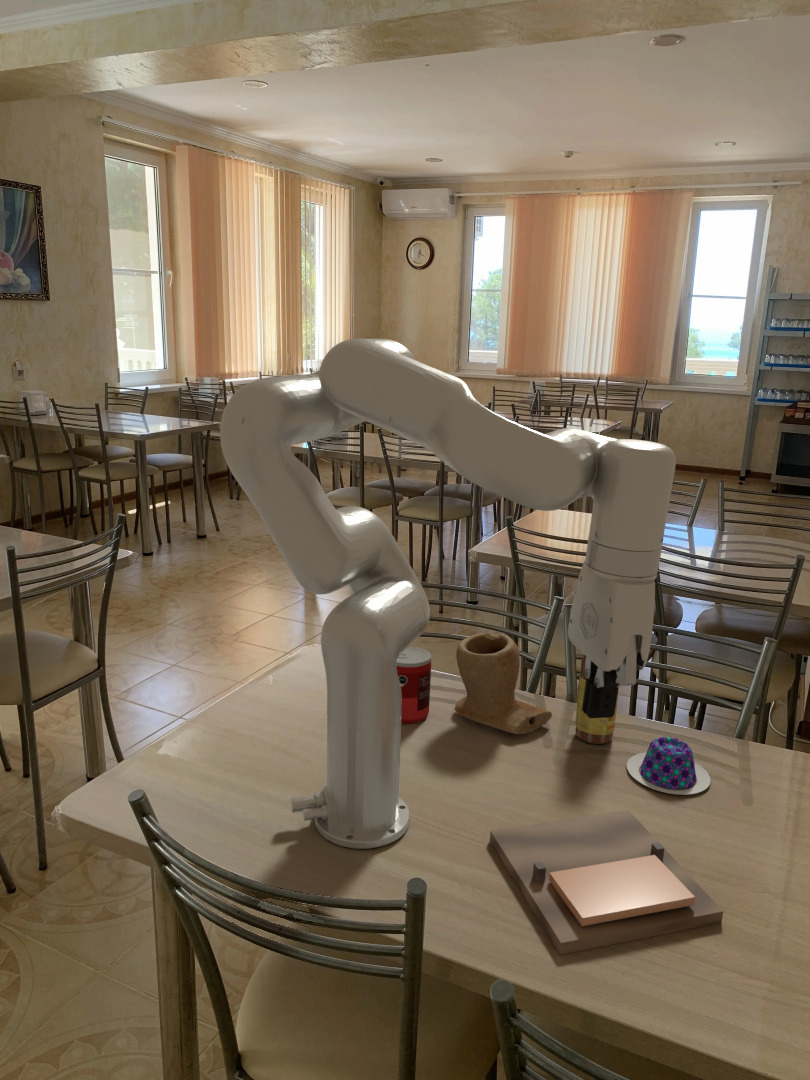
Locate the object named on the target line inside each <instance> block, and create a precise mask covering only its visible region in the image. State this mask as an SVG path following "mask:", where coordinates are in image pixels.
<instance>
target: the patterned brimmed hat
mask: <svg viewBox="0 0 810 1080" xmlns="http://www.w3.org/2000/svg"><path fill="white" fill-rule="evenodd" d="M626 768H627V771H628V773H629V774H630V776H631V777H632V778H633V779H635V780H636V781H637V782H639V783H640V784H641V785H644V786H645V787H648V788H650V789H652V790H655V791H658V792H662V793H666V794H673V795H695V794H699V793H701V792H703V791H705V790H707V789H708V788H709V787H710V784H711V777H710V774H709V773H708V771H707V770H706V769H705V768H703V766H701V765H700V764H698V763H697V762H695V759H694V753H693V750H692V748H691V747H690V746H689V744H688V743H687V742H685V741H683V740H679V739H678V738H677V737H667V736H659V737H658V738H655V739H653V740H652V741H651V742H650V744H649V746H648V748H647V751H645V752H640V753H637V754H635V755H632V756H631V757H630V758H629V759H628V760H627V762H626ZM640 769H641V770H640ZM646 779H647V780H648V781H647V780H646ZM693 784H695V785H693ZM680 789H681V790H680ZM682 789H683V790H682Z"/></svg>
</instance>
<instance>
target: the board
mask: <svg viewBox="0 0 810 1080" xmlns="http://www.w3.org/2000/svg"><path fill="white" fill-rule="evenodd" d="M489 833H490V834H489V842H490V843H491V845H492V847H493V849H494V850H495V852H496V853H497V855H498V857H499V858H500V860H501V862H502V863H503V865H504V866H505V868H506V870H507V871H508V873H509V874H510V876H511V878H512V879H513V881H514V882H515V884H516V886H517V888H518V889H519V891H520V893H521V895H523V897H524V899H525V900H526V902H527V904H528V905H529V907H530V908H531V910H532V912H533V913H534V916H536V918H537V919H538V922H539V923H540V925H541V926H542V928H543V929H544V931H545V933H546V934H547V936H548V937H549V939H550V941H551V942H552V944H553V946H554V947H555V949H556V950H557V951H556V952H557V953H559V955H566V954H571V953H577V952H580V951H587V950H592V949H596V948H600V947H607V946H611V945H617V944H622V943H626V942H631V941H635V940H641V939H646V938H652V937H656V936H661V935H666V934H671V933H675V932H682V931H686V930H692V929H697V928H701V927H707V926H712V925H715V924H716V925H717V924H722V922H723V915H724V910H723V909H722V908H721V907H720V906H719V905H718V903H716V902H715V900H714V899H712V898H711V897H710V896H709V894H708V893H707V892H706V891H705V890H704V889H703V888H702V887H701V886H700V885H699V884H698V883H697V882H696V881H695V879H694V878H693V877H692V876H691V875H690V874H689V873H688V872H687V871H686V870H685V869H684V868H683V867H682V865H681V864H680V863H679V862H678V861H677V860H676V859H675V858H674V857H673V856H672V854H670V853H669V852H668V851H667V850H666V848H665V847H664V846H663V845H662V844H661V842H659V841H658V840H657V839H656V838H655V837H654V835H652V833H650V832H649V830H648V829H647V828H646V827H645V826H644V825H643V824H642V823H641V822H640V821H639V819H637V817H636V816H634V814H633V813H632V812H631V811H630V810H629V809H626V810H620V811H612V812H606V813H600V814H593V815H587V816H580V817H573V818H567V819H560V820H553V821H547V822H540V823H532V824H526V825H525V824H524V825H521V826H513V827H507V828H501V829H500V828H499V829H492V830H490V832H489ZM651 855H655V856H656V857H657V858H658V859H659V860H660V861H661V862H662V863H663V864H664V865H665V866H666V867H667V868H668V869H669V870H670V871H671V872H672V873H673V874H674V875H675V876H676V878H677V879H678V880H679V881H680V882H681V883H682V884H683V885H684V886H685V887H686V888H687V889H688V890H689V891H690V892H691V893H692V894H693V895H694V896H695V903H694V905H691V906H686V907H681V908H676V909H670V910H665V911H660V912H655V913H649V914H644V915H639V916H634V917H629V918H623V919H618V920H613V921H608V922H602V923H597V924H592V925H587V926H581V924H580V923H579V921H578V920H577V919H576V917H575V916H574V914H573V913H572V912H571V910H570V909H569V907H568V906H567V905H566V903H565V902H564V900H563V899H562V898H561V896H560V895H559V893H558V892H557V891H556V889H555V888H554V886H553V885H552V884H551V882H550V881H549V873H550V872H556V871H562V870H568V869H574V868H580V867H586V866H592V865H598V864H603V863H609V862H615V861H621V860H627V859H633V858H639V857H645V856H651Z"/></svg>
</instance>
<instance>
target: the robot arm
mask: <svg viewBox="0 0 810 1080" xmlns="http://www.w3.org/2000/svg"><path fill="white" fill-rule="evenodd" d="M323 357H324V358H323V359H322V361H321V363H320V368H319V370H317V371H314V372H311V373H308V374H298V375H297V374H296V375H282V376H281V375H280V376H270V377H269V376H268V377H263V378H259V379H256V380H252V381H250V382H249V383H246V384H244V385H242V386H241V387H239V388H238V389H237V390H236V391H235V392H233V394H232V395H231V396H230V398H229V400H228V401H227V403H226V405H225V407H224V409H223V412H222V415H221V421H220V430H219V433H220V435H219V437H220V438H219V439H220V447H221V451H222V454H223V457H224V460H225V462H226V464H227V466H228V469H229V470H230V472H231V475H232V476H233V477H234V479H235V480H236V482H237V483H238V486H240V488H241V489H242V491H244V494H245V495H246V496H247V498H248V499H249V500H250V502H251V504H252V505H253V506H254V509H255V510H256V513H258V515H259V516H260V519H261V520H262V523H263V524H264V526H265V528H266V530H267V532H268V533H269V535H270V537H271V539H272V541H273V542H274V544H275V546H276V547H277V549H278V551H279V553H280V554H281V556H282V558H283V559H284V562H285V563H286V564H287V566H288V568H289V570H290V571H291V573H292V574H293V576H294V578H295V579H296V580H297V582H298V584H299V585H300V586H301V587H302V588H303V589H305V590H306V591H307V592H309V593H311V594H314V595H326V594H327V595H328V594H332V593H333V592H336V591H339V590H340V589H342V588H345V587H346V586H349V588H350V589H351V591H352V593H353V594H351V595H349V596H348V597H345V598H344V599H343V600H342V601H341V602H339V603H337V605H336V606H334V608H332V610H331V611H330V612H329V613H328V615H327V616H326V618H325V620H324V622H323V625H322V628H321V632H320V648H321V656H322V659H323V664H324V670H325V671H324V672H325V679H326V715H327V717H326V721H327V722H326V723H327V724H326V782H325V783H324V782H322V783H320V784H321V791H317V792H314V795H307V796H306V795H305V796H304V795H302V796H295V797H294V796H293V797H290V811H291V813H293V814H295V813H301V812H302V819H303V821H305V822H306V821H311V820H314V825H315V827H316V830H317V831H318V833H319V834H320V835H321V836H322V837H324V839H325V840H328V841H330V842H331V843H333V844H336V845H338V846H340V847H346V848H349V849H358V850H362V849H374V848H379V847H383V846H387V845H389V844H392V843H393V842H395V841H397V840H399V839H400V838H401V837H402V836H403V835H404V834H405V833H407V830H408V829H409V826H410V822H411V821H410V820H411V818H410V817H411V816H410V815H411V812H410V808H409V806H408V805H407V803H406V802H405V800H403V799H402V798H401V797H400V776H401V775H400V772H401V771H400V770H401V745H402V744H401V740H402V739H401V736H402V724H401V716H402V713H401V711H402V694H401V686H400V681H399V678H398V674H397V668H396V662H397V658H398V655H399V654H400V653H401V652H403V651H404V650H405V649H406V647H408V646H411V644H412V643H414V642H415V641H416V640H417V639H418V638H419V637H421V635H422V634H423V633H424V632H425V630H426V628H427V626H428V624H429V622H430V617H431V616H430V615H431V614H430V613H431V612H430V611H431V610H430V603H429V599H428V597H427V594H426V592H425V590H424V587H423V586H422V584H421V581H420V580H419V578H418V577H417V575H416V573H415V572H414V569H413V568H412V567H411V564H410V563H409V561H408V559H407V557H406V556H405V554H404V553H403V551H402V549H401V547H400V545H399V544H398V542H397V540H396V538H395V537H394V536H393V533H392V531H391V530H390V528H388V526H387V525H386V524H385V523H384V521H383V520H382V519H381V518H380V517H379V516H377V515H376V514H375V513H373V512H372V511H370V510H369V509H367V508H364V507H361V506H354V505H350V506H343V507H339V508H336V507H335V506H334V505H333V503H332V501H331V500H330V499H329V497H328V496H327V494H326V493H325V491H324V489H323V487H322V485H321V483H320V482H319V480H318V478H317V477H316V476H315V474H314V473H313V472H312V471H311V470H310V468H309V467H308V466H306V464H304V463H303V462H302V461H301V460H300V459H299V458H298V457H296V456H295V454H294V452H293V451H292V446H295V445H300V444H303V443H304V444H305V443H309V442H314V441H318V440H321V439H322V440H323V439H325V438H329V437H331V436H334V435H336V434H339V433H340V432H343V431H346V430H349V429H350V428H352V427H355V426H357V425H359V424H362V423H365V422H368V423H370V424H372V425H375V426H377V427H379V428H380V429H384V430H385V431H388V432H390V433H392V434H394V435H397V436H399V437H401V438H403V439H406V440H408V441H409V442H412V443H414V444H416V445H418V446H420V447H423V448H425V449H427V450H428V451H430V452H432V454H434V456H435V457H437V458H438V460H440V461H441V462H442V463H444V464H445V465H446V466H448V467H449V468H451V470H453V471H454V472H456V473H457V474H458V475H459V476H461V477H463V478H464V479H466V480H467V481H470V482H471V483H472V484H475V485H477V486H478V487H481V488H483V489H484V490H487V491H489V492H492V493H493V494H495V495H498V496H499V497H502V498H505V499H507V500H509V501H511V502H514V504H515V503H516V504H519V505H520V506H523V507H526V508H528V509H533V510H536V511H542V512H543V511H544V512H545V511H546V512H548V511H550V512H553V511H558V510H561V509H563V508H566V507H567V506H569V505H571V504H572V503H574V502H575V501H577V499H581V498H584V497H585V498H586V497H591V498H592V500H593V502H592V503H593V504H592V509H591V510H592V512H591V517H590V525H589V532H588V537H587V543H586V550H585V551H586V552H585V559H584V562H583V564H582V566H581V569H580V572H579V574H578V579H577V582H576V587H575V590H574V594H573V600H572V604H571V610H570V615H569V621H568V629H567V636H568V640H569V641H570V642H571V643H572V644H573V646H575V647H576V648H577V649H578V650H579V651H580V652H581V653H582V654H583V656H584V655H585V657H586V663H585V676H586V677H587V678H590V679H586V685H585V691H584V698H583V705H582V711H583V712H584V713H585V714H586V715H587V716H588V717H589V718H607V717H613V716H614V713H615V707H616V701H617V702H618V699H617V695H618V696H619V689H620V687H622V686H624V687H625V686H627V687H628V686H635V685H636V684H637V671H642V670H643V669H644V668H645V666H646V664H647V661H648V658H649V655H650V654H649V653H650V650H651V644H652V643H651V642H652V636H653V626H654V615H655V605H656V603H655V602H656V599H655V598H656V581H655V580H656V579H657V577H658V571H659V565H660V560H661V553H662V548H663V541H664V535H665V530H666V523H667V519H668V513H669V512H668V511H669V506H670V500H671V496H672V489H673V483H674V479H675V478H674V477H675V472H676V464H677V459H676V458H677V457H676V454H675V453H674V450H672V448H671V447H669V446H667V445H665V444H663V443H659V442H655V441H649V440H641V439H631V438H629V439H627V438H625V439H624V438H623V439H622V438H621V439H619V438H618V439H617V438H613V437H609V436H604V435H600V434H597V433H594V432H591V431H587V430H585V429H584V430H583V429H579V428H573V427H572V428H571V427H567V428H565V427H563V428H559V429H555V430H553V431H549V432H546V433H542V432H539V431H537V430H534V429H531V428H529V427H527V426H524V425H521V424H519V423H517V422H515V421H513V420H510V419H508V418H505V417H504V416H501V415H500V414H498V413H495V412H494V411H492V410H491V409H489V408H487V407H486V406H484V405H483V404H481V403H480V402H479V401H478V400H477V399H476V398H475V396H473V394H472V391H471V389H470V387H469V386H468V384H467V383H466V382H465V381H463V379H462V378H459V377H457V376H455V375H453V374H449V373H447V372H445V371H442V370H440V369H437V368H435V367H433V366H430V365H427V364H425V363H423V362H420V361H417V360H416V358H415V357H414V355H413V353H411V351H410V349H408V348H407V347H406V346H405V345H403V344H402V343H399V342H398V341H396V340H393V339H388V338H362V337H361V338H359V337H358V338H357V337H356V338H352V339H351V338H350V339H346V340H342V341H341V342H338V343H337V344H336V345H334V346H332V348H330V349H329V350H328V352H327V353H326V355H325V356H323ZM618 688H619V689H618Z"/></svg>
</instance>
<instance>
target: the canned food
mask: <svg viewBox="0 0 810 1080" xmlns="http://www.w3.org/2000/svg"><path fill="white" fill-rule="evenodd" d="M396 668H397V674H398V678H399V681H400V686H401V694H402V711H401V713H402V716H401V725H411V724H418V723H421V722H423V721H424V720H426V719H427V718H428V715H429V712H430V700H431V698H430V697H431V681H432V680H431V679H432V677H431V676H432V654H431V653H430V651H428V650H427V649H424V648H421V647H419V646H413V645H412V646H411V645H409V646H408V647H406V649H405V650H404V651H403V652H401V653H400V654H399V655H398V658H397V662H396Z"/></svg>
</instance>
